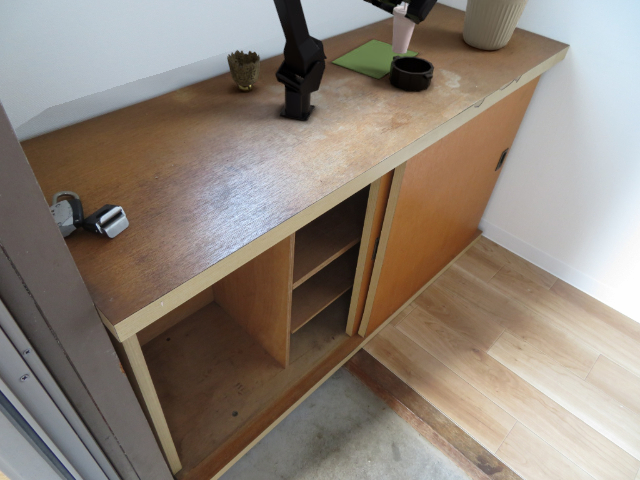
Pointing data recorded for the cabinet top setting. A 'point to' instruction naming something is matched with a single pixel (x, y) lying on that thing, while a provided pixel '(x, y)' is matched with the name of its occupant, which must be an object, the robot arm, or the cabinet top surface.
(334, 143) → the cabinet top surface
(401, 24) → the smoothie
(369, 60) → the cloth
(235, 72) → the cup
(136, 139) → the cabinet top surface
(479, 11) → the canister
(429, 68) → the pot
